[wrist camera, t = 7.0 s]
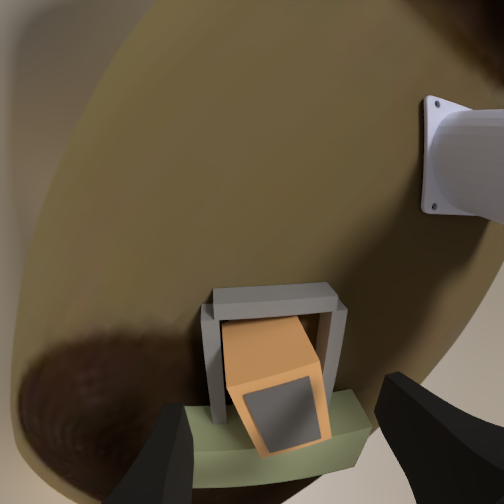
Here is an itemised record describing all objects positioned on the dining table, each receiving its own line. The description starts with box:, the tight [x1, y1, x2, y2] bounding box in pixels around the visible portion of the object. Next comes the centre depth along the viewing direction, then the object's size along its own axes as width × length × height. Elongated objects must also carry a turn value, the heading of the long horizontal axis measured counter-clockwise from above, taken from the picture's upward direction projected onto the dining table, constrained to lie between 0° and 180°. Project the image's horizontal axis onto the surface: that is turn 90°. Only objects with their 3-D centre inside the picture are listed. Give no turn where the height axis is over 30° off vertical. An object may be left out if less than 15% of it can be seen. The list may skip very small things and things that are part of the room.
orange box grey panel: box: [222, 315, 332, 458], centre depth 17 cm, size 4×7×6 cm, turn 15°
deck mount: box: [184, 282, 373, 488], centre depth 19 cm, size 14×16×4 cm
